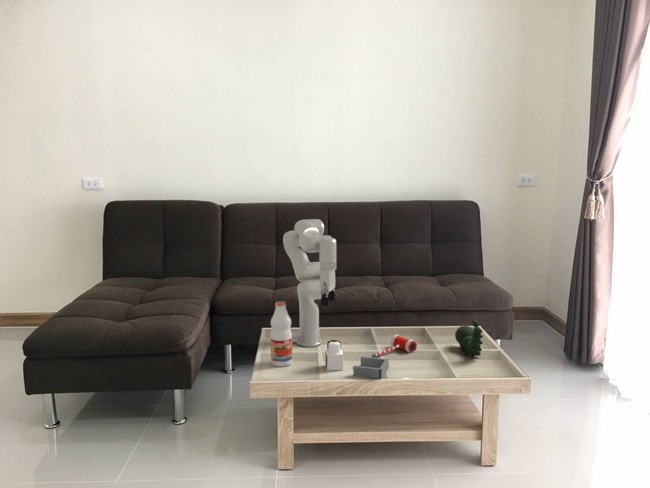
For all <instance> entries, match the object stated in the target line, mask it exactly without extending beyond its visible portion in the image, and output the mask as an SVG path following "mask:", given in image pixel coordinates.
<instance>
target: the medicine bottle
mask: <svg viewBox="0 0 650 488" xmlns="http://www.w3.org/2000/svg"><path fill="white" fill-rule="evenodd" d="M326 345H327V346H326V349H325V350H324V351H325V368H326V371H343V370H344V354H343V350H342V342H341V341H340V340H337V339H331V340H329V341H328V340H327V344H326Z"/></svg>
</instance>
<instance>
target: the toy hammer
mask: <svg viewBox="0 0 650 488" xmlns="http://www.w3.org/2000/svg"><path fill="white" fill-rule="evenodd" d="M390 345H391V347H390V348H388V349H387V348H386V349H385V350H382V351H380V352H378V353H373V354H371V357H372V358H379V357H380V356H382V355H385V354H387V353H389V352H391V351H394V350H396V349H401V350H403V351H406V352H407V353H408V352H409V354H411V353H410V352H413V351H415V352H416V351H417V348H418V342H417V341H416V339H408V338H405V337H403V336H401V335H400V334H394V335H393V336H392V338H391V339H390ZM392 346H393V347H392ZM413 353H414V352H413ZM381 354H382V355H381Z"/></svg>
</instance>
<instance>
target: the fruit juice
mask: <svg viewBox="0 0 650 488" xmlns="http://www.w3.org/2000/svg"><path fill="white" fill-rule="evenodd" d="M274 305H275V306H274V307H275V309H274V312H273V315H272V317H271V319H270V326H271V330H270V360H271V361H270V362H271V365H272V366H273V367H277V368H281V367H289V366H291V365H292V363H293V337H292V334H293V333H292V329H291V327H292V318H291V317H290V315H289V313H288V310H287V308H286V307H287V302H286V301H281V300H280V301H275V304H274Z"/></svg>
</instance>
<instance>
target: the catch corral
mask: <svg viewBox="0 0 650 488" xmlns="http://www.w3.org/2000/svg"><path fill="white" fill-rule="evenodd" d="M389 361H390V360H389V358H381V357H376V358H372V356H370V357H369V356H360V365H353V367H352V371H353V372H352V374H353V375H352V376H355V377H363V378H370V379H372V378H373V379H379V380H380V379H381V380H382V379H383V378H384V376H385V375H386V373H387V371H388V370H389V367H390V365H389V363H390V362H389Z"/></svg>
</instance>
